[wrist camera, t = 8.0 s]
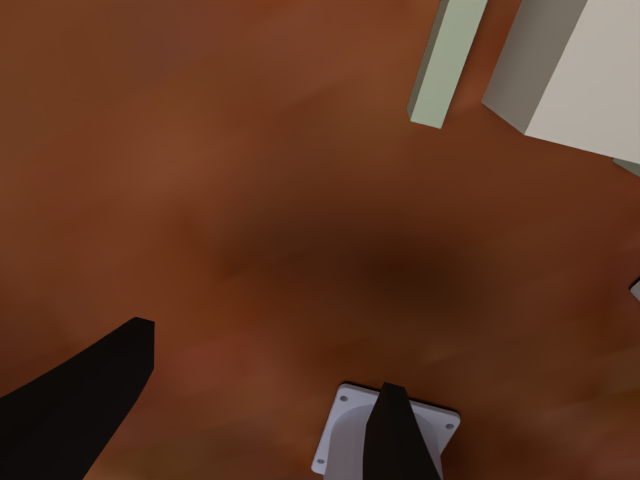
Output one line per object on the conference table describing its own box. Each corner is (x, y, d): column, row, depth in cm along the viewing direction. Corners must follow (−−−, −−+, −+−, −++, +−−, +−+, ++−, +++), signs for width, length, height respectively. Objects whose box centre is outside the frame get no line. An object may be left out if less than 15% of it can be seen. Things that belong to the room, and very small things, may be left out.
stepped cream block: (582, 127, 17) (672, 172, 12) (480, 101, 17) (524, 134, 12) (711, -112, 13) (931, -204, 8) (578, -144, 13) (709, -256, 8)
